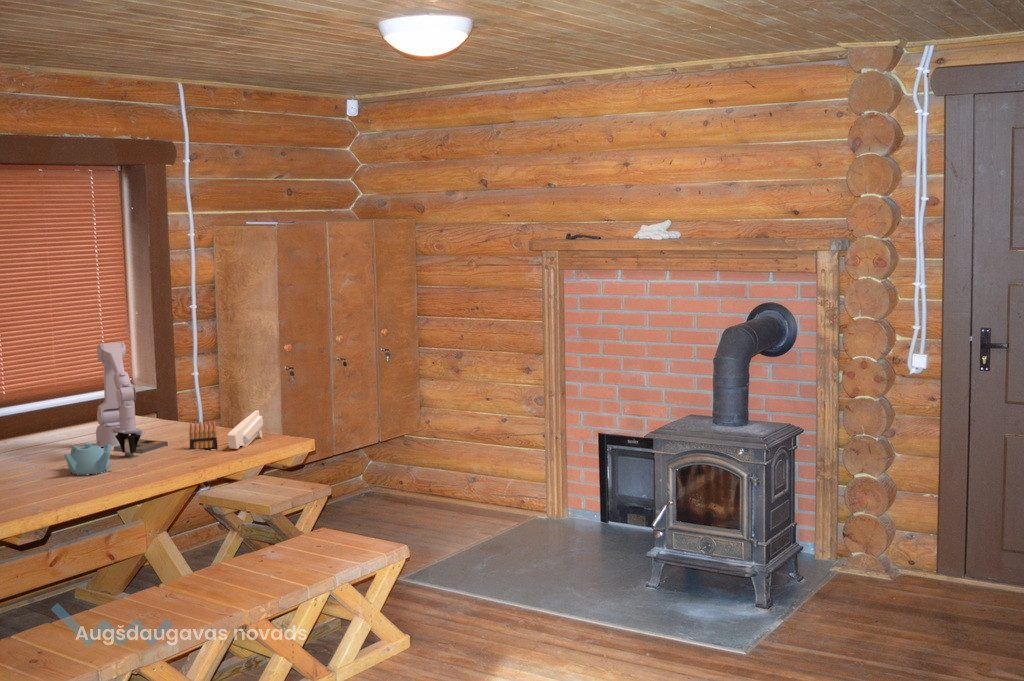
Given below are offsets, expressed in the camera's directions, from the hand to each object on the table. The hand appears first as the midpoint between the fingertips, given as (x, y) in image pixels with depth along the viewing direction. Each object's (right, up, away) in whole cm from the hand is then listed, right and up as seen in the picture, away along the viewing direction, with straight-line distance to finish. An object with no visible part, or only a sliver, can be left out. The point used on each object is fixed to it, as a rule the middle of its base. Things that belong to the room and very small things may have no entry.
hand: (129, 452), depth 405 cm
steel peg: (0, -2, 0) cm, 2 cm away
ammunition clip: (+25, -1, +15) cm, 29 cm away
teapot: (-7, -5, -19) cm, 21 cm away
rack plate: (-1, -1, +15) cm, 15 cm away
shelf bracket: (+39, 0, +25) cm, 47 cm away
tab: (0, -3, 0) cm, 3 cm away
